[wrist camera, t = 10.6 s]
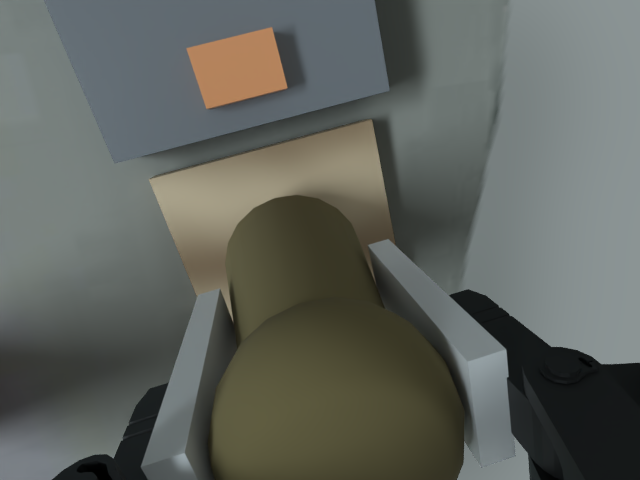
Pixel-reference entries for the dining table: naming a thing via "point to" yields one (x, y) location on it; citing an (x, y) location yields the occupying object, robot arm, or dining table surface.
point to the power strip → (215, 64)
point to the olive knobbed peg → (325, 362)
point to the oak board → (272, 194)
